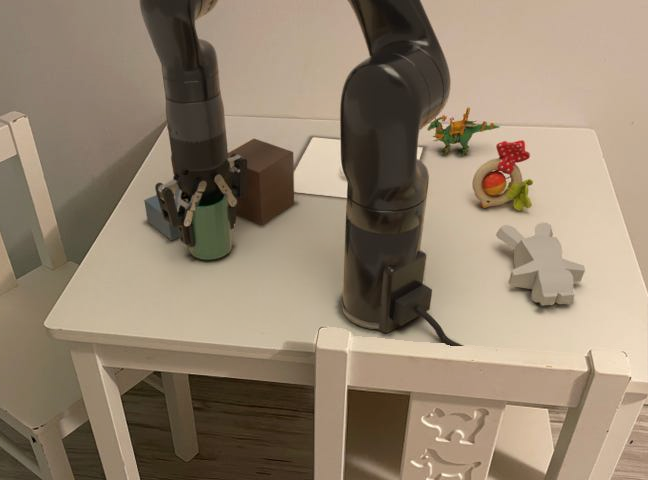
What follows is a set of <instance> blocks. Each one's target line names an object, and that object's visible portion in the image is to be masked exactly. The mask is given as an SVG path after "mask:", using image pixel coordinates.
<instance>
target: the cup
mask: <svg viewBox="0 0 648 480" xmlns="http://www.w3.org/2000/svg"><path fill="white" fill-rule="evenodd" d="M188 200H189V201H191V198H189V197H188ZM184 211H186V209H185V207H184ZM191 224H192V225H193V232H194V240H195V246H193V247H191V248H190V247H188V250H189V253H190V254H191V255H192V256H193V257H194V258H197V259H200V260H217V259H220V258H221V257H222V258H223V257H224V256H226V255H228V254H229V253H230V252H231V250H232V248H233V247H232V246H233V240H232V239H233V238H232V229H231V227H230V216H229V205H228V194H226V195H224V197H223V196H221V195H220V194H217V195H215V196H210V197H207V198H206V199H205V200H203V201H200V203H199V206H197V207H195V211H193V218H192V222H191Z"/></svg>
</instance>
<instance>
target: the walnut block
mask: <svg viewBox="0 0 648 480" xmlns="http://www.w3.org/2000/svg"><path fill="white" fill-rule="evenodd" d="M233 153H236V154H238V155H240V156H241V157H243V158H245V159H246V160H247V195H246V197H245V198H243V199H242V198H240V199H239V200H238V201H237V204H236V205H235V211H236V216H239V217H241V218H243V219H246V220H248V221H250V222H253V223H256V224H258V225H260V226H264V225H265V224H267V223H268V222H269V221H271V220H273V219H274V218H275V217H277V216H278V215H280V214H281V213H283V212H284V211H286V210H287V209H289V208H291V207H292V206H293V205H295V192H294V171H295V169H294V168H295V167H294V166H295V165H294V164H295V163H294V151H292V150H289V149H287V148H283V147H280V146H277V145H275V144H271V143H269V142H266V141H263V140H260V139H256V138H252V139H250V140H249V141H247V142H245V143H243V144H241V145H239V146H238V147H235V149H232V150H231V151H228V157H227V158H230V157H231V155H232V154H233ZM224 181H225V183H226V184H227V185H228V187H229V188H230V170H229V171H228V173H227V176H226V178H225V180H224Z"/></svg>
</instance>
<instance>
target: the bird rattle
mask: <svg viewBox="0 0 648 480" xmlns="http://www.w3.org/2000/svg"><path fill="white" fill-rule="evenodd" d="M496 151H497V155H498V158H493V159H489V160H488V161H486V162H484V163H483V164H481V166H479V168H478V169H477V170H476V171H475V173H474V175H473V178H472V190H473V192H474V196H475V197H476V199H477V200H478V201H480V204H481V207H482V208H483V209H487V208H489V207H491V206H493V207H494V206H495V207H496V206H500V205H505V204H506V203H508V202H510V201H512V200H513V209H514V210H515V211H518V212H520V211H522V210H523V209H524V208H526V209H529V208H532V206H533V205H532V201H531V199H530V197H529V196H528V195H529V187H530V186H532V185H534V181H533V179H530V178H528V179H525V180H523V175H522V172H521V170H520V168H519V166H518V165H517V163H522V162H525V161H527V160H529V159H530V157H531V153H530V152H528V151H527V150H526V142H525V140H523V139H521V140H516V141H513V142H512V141H511V142H510V141H506V140H504V141H501V142H498V143H496ZM505 174H506V175H508V176H507V177H506V176H505ZM507 179H510V181H509V182H508V185H507ZM506 187H507V188H506Z"/></svg>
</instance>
